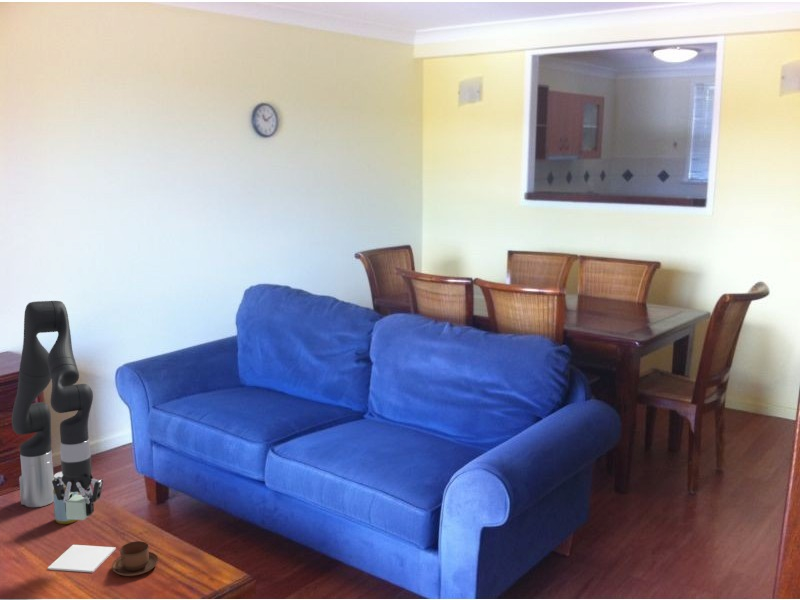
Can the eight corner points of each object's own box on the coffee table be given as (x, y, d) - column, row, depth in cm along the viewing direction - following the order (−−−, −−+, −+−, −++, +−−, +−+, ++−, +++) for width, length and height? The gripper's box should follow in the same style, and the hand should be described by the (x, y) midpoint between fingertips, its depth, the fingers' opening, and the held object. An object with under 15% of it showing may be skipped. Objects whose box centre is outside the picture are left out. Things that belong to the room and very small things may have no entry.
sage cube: (66, 519, 208) (65, 502, 207) (76, 511, 213) (75, 494, 212) (83, 520, 207) (82, 503, 206) (93, 512, 212) (92, 495, 211)
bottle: (73, 525, 232) (70, 479, 229) (51, 524, 232) (47, 478, 230) (83, 515, 239) (80, 470, 236) (61, 514, 239) (58, 469, 236)
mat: (47, 569, 207) (47, 567, 206) (73, 546, 219) (73, 544, 219) (92, 572, 205) (92, 570, 205) (115, 549, 218) (115, 547, 218)
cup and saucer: (143, 582, 201) (142, 561, 200) (103, 577, 203) (101, 556, 202) (166, 560, 212) (165, 539, 211) (127, 555, 215) (126, 535, 214)
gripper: (107, 452, 210) (111, 509, 213) (58, 450, 211) (62, 507, 214) (93, 462, 203) (97, 521, 205) (43, 460, 204) (47, 519, 207)
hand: (79, 514), depth 210 cm, fingers closed on sage cube, 5 cm apart
